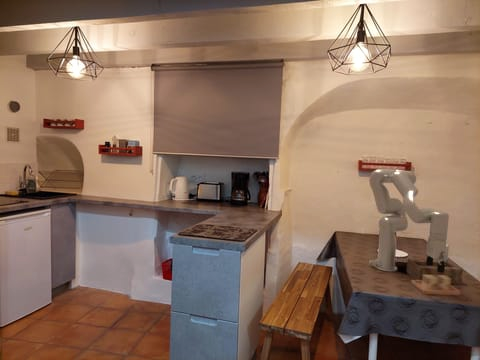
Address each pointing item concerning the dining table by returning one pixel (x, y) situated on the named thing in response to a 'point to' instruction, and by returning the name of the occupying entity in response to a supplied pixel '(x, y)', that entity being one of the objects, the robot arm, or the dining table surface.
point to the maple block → (436, 282)
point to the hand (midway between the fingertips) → (434, 268)
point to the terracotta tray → (440, 292)
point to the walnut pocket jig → (433, 270)
